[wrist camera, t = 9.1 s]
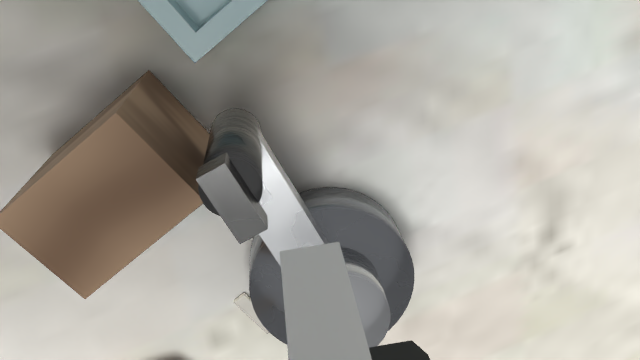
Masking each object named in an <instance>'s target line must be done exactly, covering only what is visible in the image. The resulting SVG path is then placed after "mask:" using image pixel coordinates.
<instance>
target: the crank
mask: <svg viewBox="0 0 640 360" xmlns="http://www.w3.org/2000/svg"><path fill="white" fill-rule="evenodd" d="M195 180H196V181H197V182H198V184H199V185H198V190H199V195H200V198H201V200H202V202H203V204H204V205H205V206H206V207H207V208H208V209H209V210H210V211H211V212H213V213H215V214H217V215H219V216H221V217H222V219H223V220H224V222H225V223H226V225H227V226H228V228H229V229H230V230H231V232H232V233H233V235H234V236H235V238H236V239H237V241H238V242H239V244H241V243H243V242H245V241H247V240H248V239H250V238H252V237H254V236H256V235H258V234H259V235H260V236H261V238H262V239H263V241H264V242H265V244H266V245H267V247H268V248H269V250H270V251H271V253H272V254H273V256H274V257H275V259H276V260H277V262H278V263H279V265H280V266H281V261H280V251H284V250H290V249H297V248H303V247H309V246H316V245H322V244H328V243H329V242H328V241H327V239H326V238H325V236H324V234H323V233H322V231H321V229H320V228H319V226H318V225H317V223H316V221H315V220H314V218H313V216H312V215H311V213H310V212H309V210H308V208H307V207H306V205H305V203H304V202H303V200H302V199H301V197H300V195H299V194H298V192H297V190H296V189H295V187H294V186H293V184H292V182H291V181H290V179H289V177H288V176H287V174H286V173H285V171H284V169H283V168H282V166H281V164H280V163H279V161H278V160H277V158H276V156H275V155H274V153H273V151H272V150H271V148H270V147H269V145H268V143H267V142H266V140H265V138H264V137H263V135H262V134H261V128H260V125H259V122H258V121H257V119H256V118H255V117H254V116H253V115H252V114H251V113H249V112H247V111H245V110H242V109H229V110H226V111H224V112H222V113H220V114H219V115H218V116H217V117H216V118H215V120H214V121H213V124H212V127H211V131H210V135H209V140H208V144H207V149H206V153H205V158H204V162H203V165H202V166H200V167H198V171H197V175H196V179H195ZM341 250H342V254H343V257H344V261H345V264H346V268H347V272H348V275H349V279H350V282H351V286H352V290H353V293H354V297H355V300H356V304H357V308H358V311H359V315H360V318H361V322H362V326H363V329H364V333H365V336H366V340H367V344H368V347H369V348H370V347H376V346H378V345H379V343H380V342H381V341H382V340H383V338H384V337H385V335H386V333H387V331H388V328H389V325H390V318H391V313H390V307H389V304H388V301H387V298H386V296H385V293H384V290H383V287H382V285H381V282H380V279H379V276H378V273H377V271H376V269H375V267H374V265H373V264H372V263H371V261H370V260H369V259H368V258H366V257H365V256H364V255H362V254H361V253H359V252H357V251H355V250H352V249H349V248H343V247H341Z"/></svg>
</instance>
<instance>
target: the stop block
mask: <svg viewBox="0 0 640 360" xmlns="http://www.w3.org/2000/svg"><path fill="white" fill-rule="evenodd" d="M209 135H210V134H209V133H208V132H207V131H206V130H205V129H204V128H203V127H202V125H201V124H200V123H199V122H198V121H197V120H196V119H195V118H194V117H193V116H192V115H191V114H190V113H189V112H188V111H187V110H186V109H185V108H184V106H183V105H182V104H181V103H180V102H179V101H178V100H177V99H176V98H175V97H174V96H173V95H172V94H171V93H170V92H169V91H168V90H167V89H166V87H165V86H164V85H163V84H162V83H161V82H160V81H159V80H158V79H157V78H156V77H155V76H154V75H153V74H152V73H151V72H150V71H149V70H148V71H147V72H146V73H145V74H144V75H143V76H142V77H140V78H139V79H138V80H137V81H136V82H135V83H134V84H132V85H131V86H130V87H129V88H128V89H127V90H126V91H124V92H123V93H122V94H121V95H120V96H119V97H118V98H117V99H115V100H114V101H113V102H112V103H111V104H110V105H109V106H107V107H106V108H105V109H104V110H103V111H102V112H101V113H99V114H98V115H97V116H96V117H95V118H94V119H93V120H91V121H90V122H89V123H88V124H87V125H86V126H85V127H84V128H82V129H81V130H80V131H79V132H78V133H77V134H76V135H74V136H73V137H72V138H71V139H70V140H69V141H68V142H66V143H65V144H64V145H63V146H62V147H61V148H60V149H58V150H57V151H56V152H55V153H54V154H53V155H52V156H51V157H50V158H49V159H48V160H47V161H46V162H45V163H44V164H43V165H42V167H41V168H40V169H39V170H38V171H37V172H36V173H35V174H34V175H33V176H32V177H31V179H30V180H29V181H28V182H27V183H26V184H25V185H24V186H23V187H22V188H21V190H20V191H19V192H18V193H17V194H16V195H15V196H14V197H13V198H12V199H11V200H10V202H9V203H8V204H7V205H6V206H5V207H4V208H3V209H2V210H1V211H0V229H1V230H2V231H4V232H5V233H6V234H7V235H8V236H10V237H11V238H12V239H13V240H14V241H16V242H17V243H18V244H19V245H20V246H22V247H23V248H24V249H25V250H26V251H28V252H29V253H30V254H31V255H32V256H34V257H35V258H36V259H37V260H38V261H40V262H41V263H42V264H43V265H44V266H46V267H47V268H48V269H49V270H50V271H52V272H53V273H54V274H55V275H56V276H58V277H59V278H60V279H61V280H62V281H64V282H65V283H66V284H67V285H68V286H70V287H71V288H72V289H73V290H74V291H76V292H77V293H78V294H79V295H80V296H82V297H83V298H84V299H86V298H87V297H88V296H90V295H91V294H92V293H93V292H95V291H96V290H97V289H98V288H100V287H101V286H102V285H103V284H104V283H106V282H107V281H108V280H109V279H111V278H112V277H113V276H114V275H115V274H117V273H118V272H119V271H120V270H122V269H123V268H124V267H125V266H127V265H128V264H129V263H130V262H131V261H133V260H134V259H135V258H136V257H138V256H139V255H140V254H141V253H143V252H144V251H145V250H146V249H147V248H149V247H150V246H151V245H152V244H154V243H155V242H156V241H157V240H159V239H160V238H161V237H162V236H163V235H165V234H166V233H167V232H168V231H170V230H171V229H172V228H173V227H175V226H176V225H177V224H178V223H179V222H181V221H182V220H183V219H184V218H186V217H187V216H188V215H189V214H191V213H192V212H193V211H194V210H195V209H197V208H198V207H199V206H200V205H202V204H203V202H202V200H201V198H200V195H199V190H198V185H199V184H198V182H197V181H196V180H195V179H196V175H197V171H198V167H200V166H202V165H203V162H204V158H205V153H206V149H207V144H208V140H209Z"/></svg>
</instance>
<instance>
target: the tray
mask: <svg viewBox="0 0 640 360" xmlns="http://www.w3.org/2000/svg"><path fill="white" fill-rule="evenodd" d="M138 1H139V2H140V4H141V5H142V6H143V7H144V8H145V9H146V10H147V11H148V12H149V13H150V15H151V16H152V17H153V18H154V19H155V20H156V21H157V22H158V23H159V24H160V26H161V27H162V28H163V29H164V30H165V31H166V32H167V33H168V34H169V35H170V37H171V38H172V39H173V40H174V41H175V42H176V43H177V44H178V45H179V47H180V48H181V49H182V50H183V51H184V52H185V53H186V54H187V55H188V56H189V58H190V59H191V60H192V61H193V62H194V63H196V62H197V61H198V60H199V59H200V58H202V57H203V56H204V55H205V54H206V53H207V52H208V51H210V50H211V49H212V48H213V47H214V46H215V45H217V44H218V43H219V42H220V41H221V40H222V39H224V38H225V37H226V36H227V35H228V34H229V33H230V32H232V31H233V30H234V29H235V28H236V27H237V26H239V25H240V24H241V23H242V22H243V21H244V20H245V19H247V18H248V17H249V16H250V15H251V14H252V13H254V12H255V11H256V10H257V9H258V8H259V7H261V6H262V5H263V4H264V3H265V2H266V1H267V0H138Z"/></svg>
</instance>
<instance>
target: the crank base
mask: <svg viewBox="0 0 640 360" xmlns="http://www.w3.org/2000/svg"><path fill="white" fill-rule="evenodd" d="M299 195H300V197H301V199H302V200H303V202H304V203H305V205H306V207H307V208H308V210H309V212H310V213H311V215H312V216H313V218H314V220H315V221H316V223H317V225H318V226H319V228H320V229H321V231H322V233H323V234H324V236H325V238H326V239H327V241H328V242H329V243H334V242H339V243H340V246H341V247H343V248H349V249H352V250H355V251H357V252H359V253H361V254H362V255H364V256H365V257H366V258H368V259H369V260H370V261H371V263H372V264H373V265H374V267H375V269H376V271H377V273H378V276H379V279H380V282H381V285H382V287H383V290H384V293H385V296H386V298H387V301H388V304H389V307H390V313H391V318H390V325H389V328H388V330H390V329H391V328H392V327H393V326H394V324H395V323H396V322H397V321H398V320H399V319H400V317H401V316H402V315H403V313H404V311H405V309H406V308H407V306H408V303H409V301H410V298H411V295H412V291H413V286H414V268H413V262H412V259H411V256H410V253H409V251H408V249H407V247H406V245H405V243H404V240H403V238H402V236H401V234H400V232H399V230H398V228H397V226H396V224H395V222H394V220H393V219H392V217H391V216H390V215H389V213H388V212H387V211H386V210H385V209H384V208H383V207H382V206H381V205H380V204H378V203H377V202H376V201H374V200H373V199H371V198H369V197H368V196H366V195H364V194H361V193H358V192H356V191H352V190H348V189H343V188H318V189H312V190H308V191H304V192H302V193H299ZM249 291H250V297H249V296H248V295H247V294H246V293H243V294H241V295H240V296H239V297H238V298H236V299H235V300H234V303H235V304H236V305H237V306H238V307H239V308H240V309H241V310H242V311H243V312H244V313H245V314H246V315H247V316H249V317H250V318H251V319H252V320H253V321H254V322H255V323H256V324H257V325H258V326H259V327H260V328H261V329H262V330H263V331H265V332H266V333H267V334H268V333H269V332H270V333H271V334H272V335H273V336H275V337H276V338H277V339H279V340H280V341H282V342H283V343H285V344H287V334H286V322H285V310H284V298H283V286H282V273H281V266H280V265H279V263H278V262H277V260H276V259H275V257H274V256H273V254H272V253H271V251H270V250H269V248H268V247H267V245H266V244H265V242H264V241H263V239H262V238H261V236H260V235H259V234H258V235H256V236H254V238H253V242H252V245H251V251H250V280H249Z"/></svg>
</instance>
